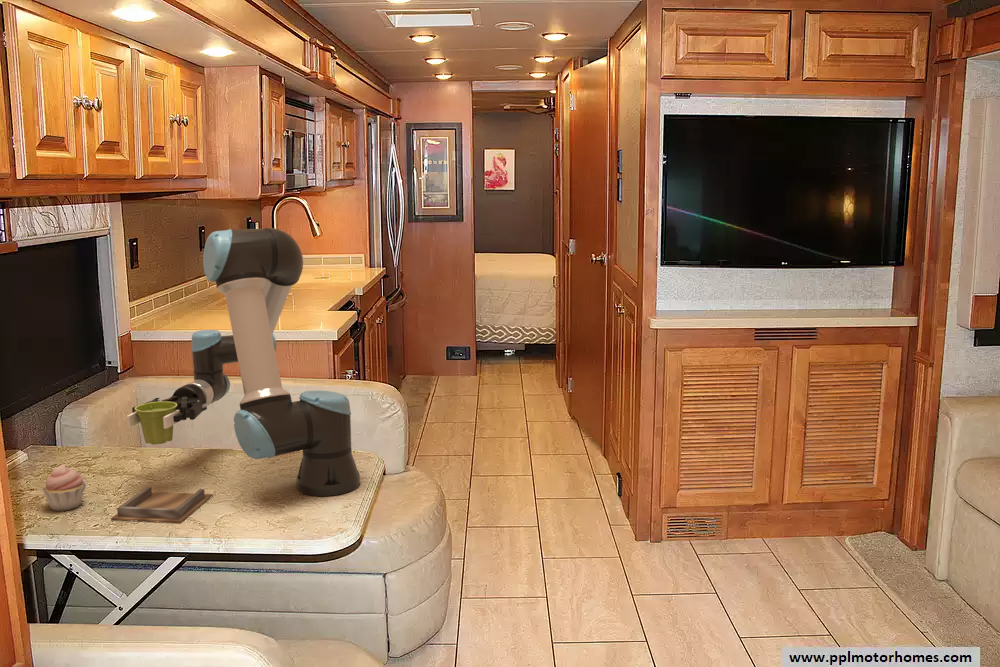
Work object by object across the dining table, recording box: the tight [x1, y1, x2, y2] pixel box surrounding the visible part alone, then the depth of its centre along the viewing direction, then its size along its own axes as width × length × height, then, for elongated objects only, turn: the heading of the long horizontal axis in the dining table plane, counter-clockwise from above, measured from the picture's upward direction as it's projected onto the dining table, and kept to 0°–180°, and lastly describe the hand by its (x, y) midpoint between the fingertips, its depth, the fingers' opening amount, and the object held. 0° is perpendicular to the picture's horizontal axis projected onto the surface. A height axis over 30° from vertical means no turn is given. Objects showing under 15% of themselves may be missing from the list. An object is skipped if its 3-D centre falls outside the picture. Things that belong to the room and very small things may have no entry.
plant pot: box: [134, 400, 177, 445], centre depth 204 cm, size 9×9×9 cm
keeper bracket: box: [110, 486, 214, 524], centre depth 195 cm, size 16×16×2 cm
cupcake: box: [41, 463, 88, 512], centre depth 196 cm, size 9×9×10 cm
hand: (146, 422), depth 199 cm, fingers closed on plant pot, 8 cm apart
